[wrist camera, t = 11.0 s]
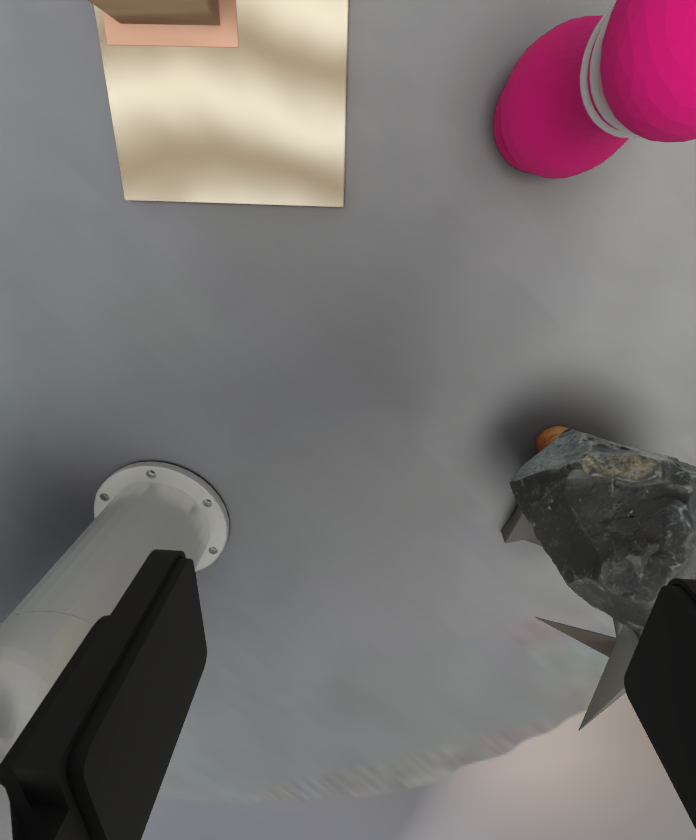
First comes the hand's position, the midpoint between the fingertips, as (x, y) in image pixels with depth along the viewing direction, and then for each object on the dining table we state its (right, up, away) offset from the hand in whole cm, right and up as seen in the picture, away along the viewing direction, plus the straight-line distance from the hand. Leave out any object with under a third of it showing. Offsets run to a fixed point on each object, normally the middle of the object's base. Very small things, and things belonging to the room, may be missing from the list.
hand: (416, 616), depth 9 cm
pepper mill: (+11, +23, +20) cm, 33 cm away
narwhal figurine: (+17, 0, +31) cm, 35 cm away
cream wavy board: (-9, +27, +19) cm, 34 cm away
